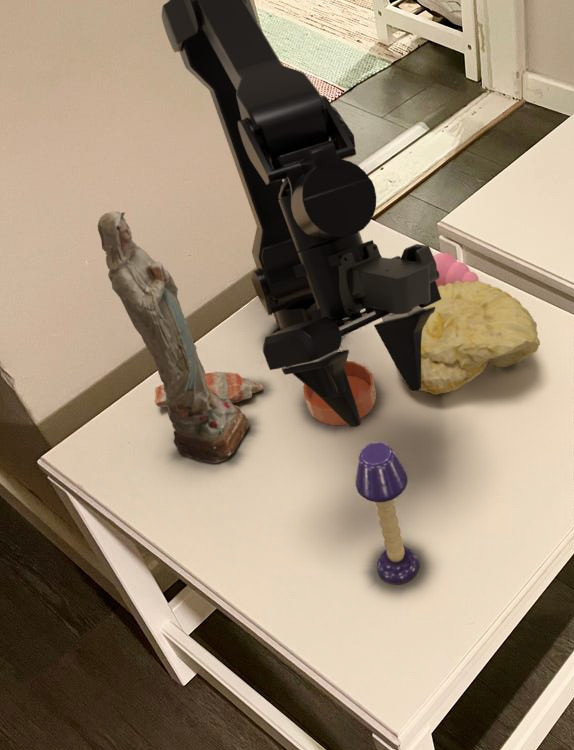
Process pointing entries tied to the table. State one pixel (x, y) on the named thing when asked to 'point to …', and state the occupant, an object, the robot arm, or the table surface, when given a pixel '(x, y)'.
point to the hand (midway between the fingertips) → (387, 407)
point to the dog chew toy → (452, 270)
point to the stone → (221, 387)
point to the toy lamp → (386, 508)
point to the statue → (170, 347)
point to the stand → (360, 388)
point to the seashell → (473, 335)
